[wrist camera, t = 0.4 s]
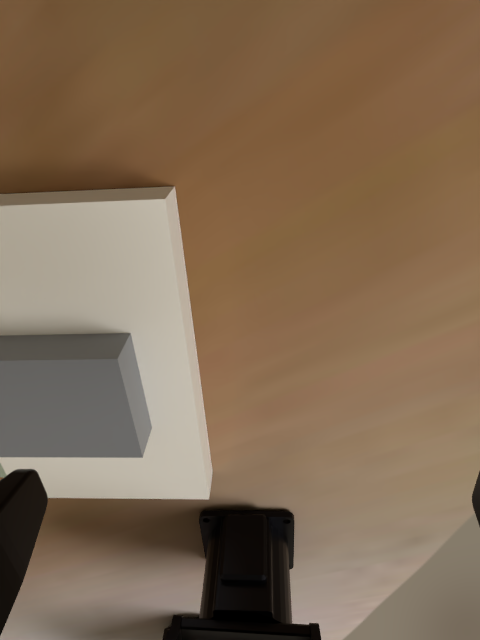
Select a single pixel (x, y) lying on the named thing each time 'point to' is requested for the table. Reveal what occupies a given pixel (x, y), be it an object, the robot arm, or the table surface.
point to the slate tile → (71, 397)
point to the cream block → (111, 325)
